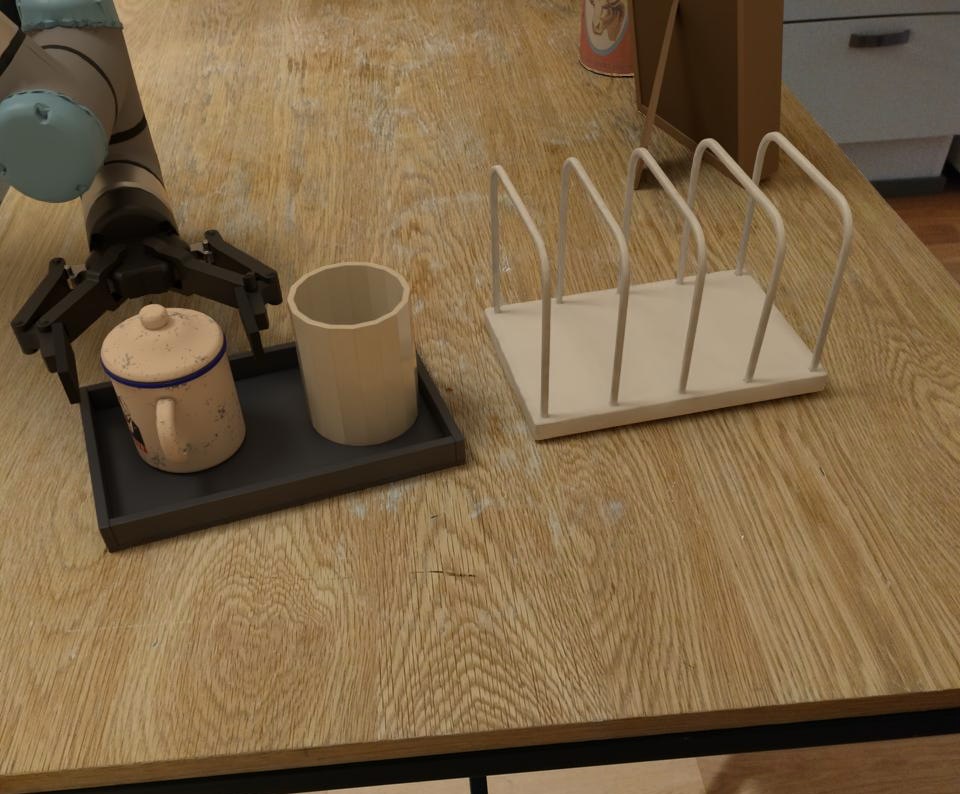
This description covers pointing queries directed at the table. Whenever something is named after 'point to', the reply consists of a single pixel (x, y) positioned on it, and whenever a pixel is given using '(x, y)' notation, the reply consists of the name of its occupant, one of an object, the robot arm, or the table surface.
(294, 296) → the cream cup
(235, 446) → the teacup with lid
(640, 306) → the file sorter
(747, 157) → the photo frame
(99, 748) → the table surface
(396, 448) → the tray
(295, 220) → the table surface
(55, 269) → the robot arm
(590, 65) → the canned food
